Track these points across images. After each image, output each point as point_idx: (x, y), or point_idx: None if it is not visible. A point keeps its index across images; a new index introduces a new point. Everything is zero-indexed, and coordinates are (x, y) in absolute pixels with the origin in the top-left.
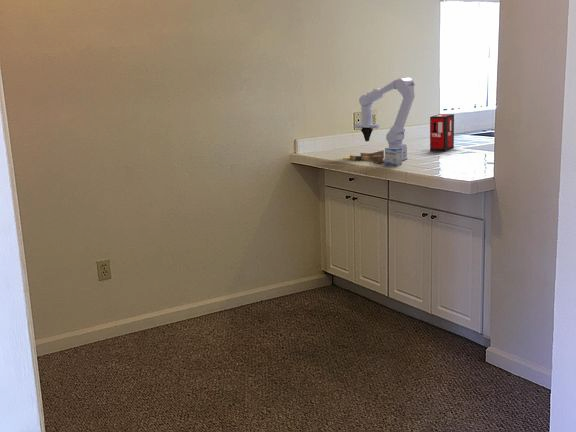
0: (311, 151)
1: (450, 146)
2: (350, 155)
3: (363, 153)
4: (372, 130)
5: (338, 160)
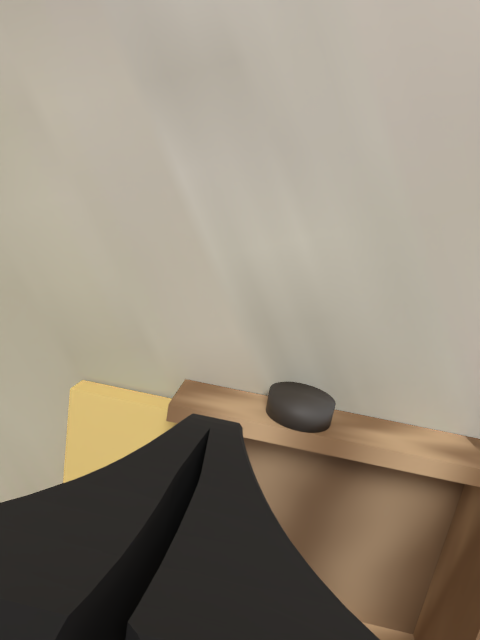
0: None
1: None
2: None
3: None
4: (364, 630)
5: None
